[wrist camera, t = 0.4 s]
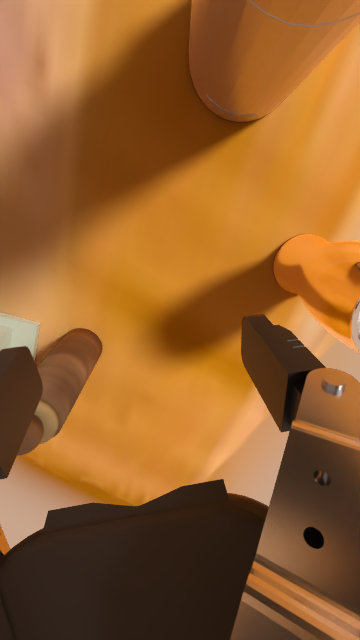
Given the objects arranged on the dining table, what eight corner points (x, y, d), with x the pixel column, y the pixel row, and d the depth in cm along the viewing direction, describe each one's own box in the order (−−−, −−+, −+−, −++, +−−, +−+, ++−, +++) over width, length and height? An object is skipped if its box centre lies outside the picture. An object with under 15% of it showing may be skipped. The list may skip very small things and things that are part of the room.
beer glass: (302, 309, 31) (401, 391, 17) (254, 271, 30) (321, 328, 16) (351, 257, 29) (508, 303, 15) (302, 214, 28) (428, 220, 14)
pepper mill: (66, 323, 32) (-23, 414, 18) (105, 334, 32) (49, 431, 18) (60, 357, 33) (-26, 465, 19) (98, 367, 34) (41, 479, 20)
